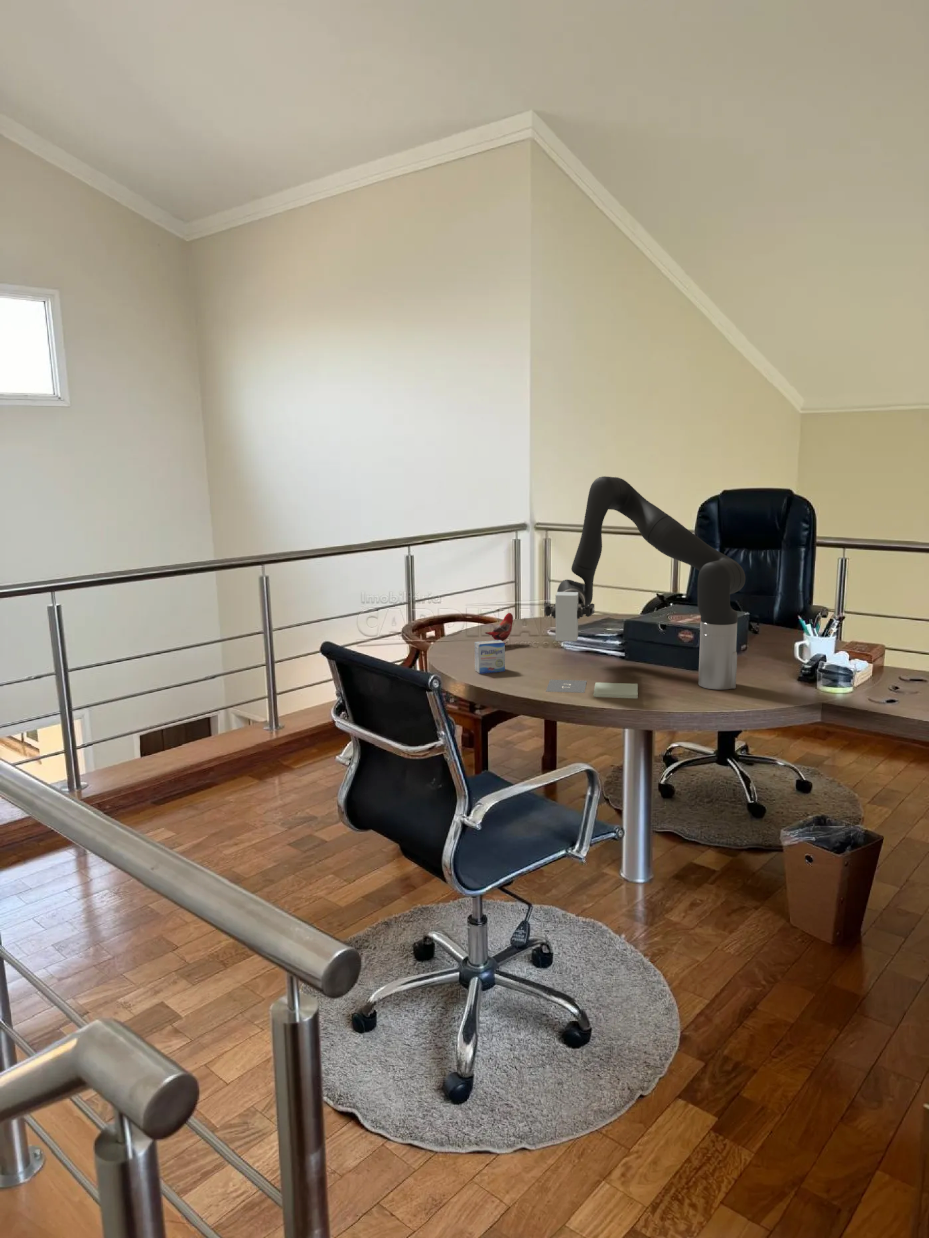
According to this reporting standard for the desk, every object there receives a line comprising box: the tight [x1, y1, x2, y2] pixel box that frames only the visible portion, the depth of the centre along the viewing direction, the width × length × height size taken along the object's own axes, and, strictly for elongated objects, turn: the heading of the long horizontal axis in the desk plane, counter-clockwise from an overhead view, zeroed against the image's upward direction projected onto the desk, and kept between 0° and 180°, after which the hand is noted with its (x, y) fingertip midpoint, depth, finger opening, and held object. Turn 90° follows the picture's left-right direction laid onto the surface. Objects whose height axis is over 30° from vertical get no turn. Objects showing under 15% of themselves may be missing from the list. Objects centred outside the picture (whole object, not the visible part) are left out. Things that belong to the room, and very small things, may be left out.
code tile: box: [545, 679, 588, 694], centre depth 231 cm, size 10×12×1 cm
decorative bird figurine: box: [484, 612, 514, 645], centre depth 279 cm, size 3×18×10 cm, turn 147°
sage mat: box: [593, 682, 639, 699], centre depth 225 cm, size 11×11×1 cm
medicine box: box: [473, 639, 506, 675], centre depth 248 cm, size 8×4×9 cm, turn 106°
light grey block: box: [555, 591, 579, 642], centre depth 227 cm, size 6×6×12 cm
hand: (566, 614), depth 225 cm, fingers closed on light grey block, 5 cm apart
